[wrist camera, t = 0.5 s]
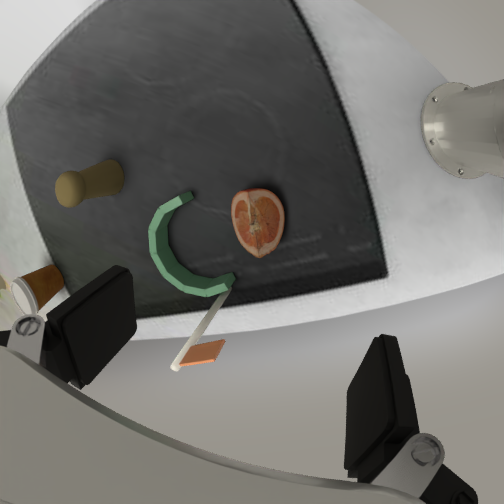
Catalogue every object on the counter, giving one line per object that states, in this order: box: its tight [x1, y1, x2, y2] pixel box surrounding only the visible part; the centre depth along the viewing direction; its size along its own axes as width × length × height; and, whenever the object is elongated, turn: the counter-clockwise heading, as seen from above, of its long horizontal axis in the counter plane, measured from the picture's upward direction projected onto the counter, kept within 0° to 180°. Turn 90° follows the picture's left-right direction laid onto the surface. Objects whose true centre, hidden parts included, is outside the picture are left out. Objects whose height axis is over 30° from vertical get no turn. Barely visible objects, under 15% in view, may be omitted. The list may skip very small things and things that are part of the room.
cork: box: [55, 159, 124, 207], centre depth 37 cm, size 6×6×11 cm
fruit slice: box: [231, 188, 284, 258], centre depth 36 cm, size 8×7×5 cm
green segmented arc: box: [148, 191, 236, 372], centre depth 34 cm, size 12×16×18 cm
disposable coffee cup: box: [10, 265, 64, 315], centre depth 50 cm, size 10×10×12 cm
